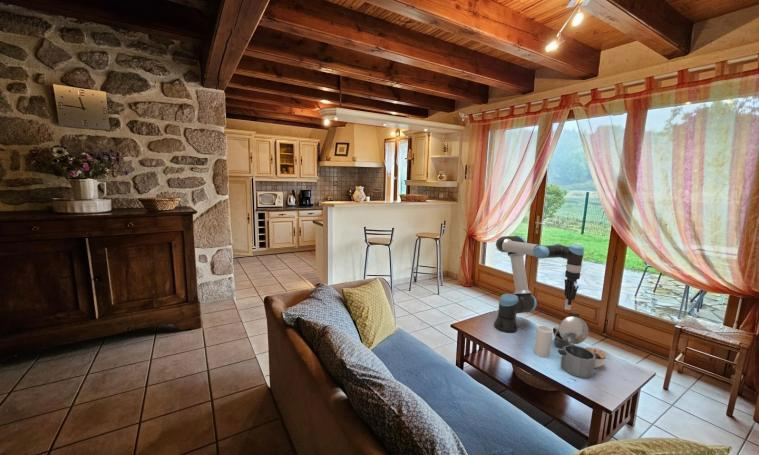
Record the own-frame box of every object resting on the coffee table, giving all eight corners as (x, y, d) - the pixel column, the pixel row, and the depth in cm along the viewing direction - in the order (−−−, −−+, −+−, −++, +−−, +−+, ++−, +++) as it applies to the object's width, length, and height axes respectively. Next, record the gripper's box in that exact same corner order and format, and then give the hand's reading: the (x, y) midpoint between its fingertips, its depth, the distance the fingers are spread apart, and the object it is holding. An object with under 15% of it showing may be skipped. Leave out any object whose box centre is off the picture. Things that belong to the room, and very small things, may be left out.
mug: (563, 351, 195) (565, 336, 194) (545, 341, 207) (547, 327, 205) (573, 349, 199) (576, 334, 198) (555, 339, 211) (557, 325, 209)
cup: (551, 358, 188) (554, 332, 185) (536, 356, 189) (539, 330, 187) (546, 350, 196) (550, 326, 193) (532, 348, 197) (535, 324, 195)
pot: (550, 358, 187) (552, 342, 185) (588, 363, 184) (591, 346, 183) (562, 375, 171) (565, 357, 169) (603, 380, 169) (607, 362, 167)
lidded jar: (577, 361, 186) (579, 346, 184) (589, 358, 190) (591, 343, 188) (595, 372, 176) (598, 356, 174) (608, 368, 180) (610, 352, 179)
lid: (558, 342, 184) (557, 341, 185) (587, 345, 182) (586, 344, 183) (560, 312, 184) (559, 311, 185) (589, 315, 182) (588, 314, 183)
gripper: (561, 267, 195) (556, 304, 199) (571, 273, 183) (565, 313, 186) (574, 268, 194) (569, 305, 198) (585, 275, 182) (579, 314, 185)
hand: (567, 309), depth 192 cm, fingers closed
